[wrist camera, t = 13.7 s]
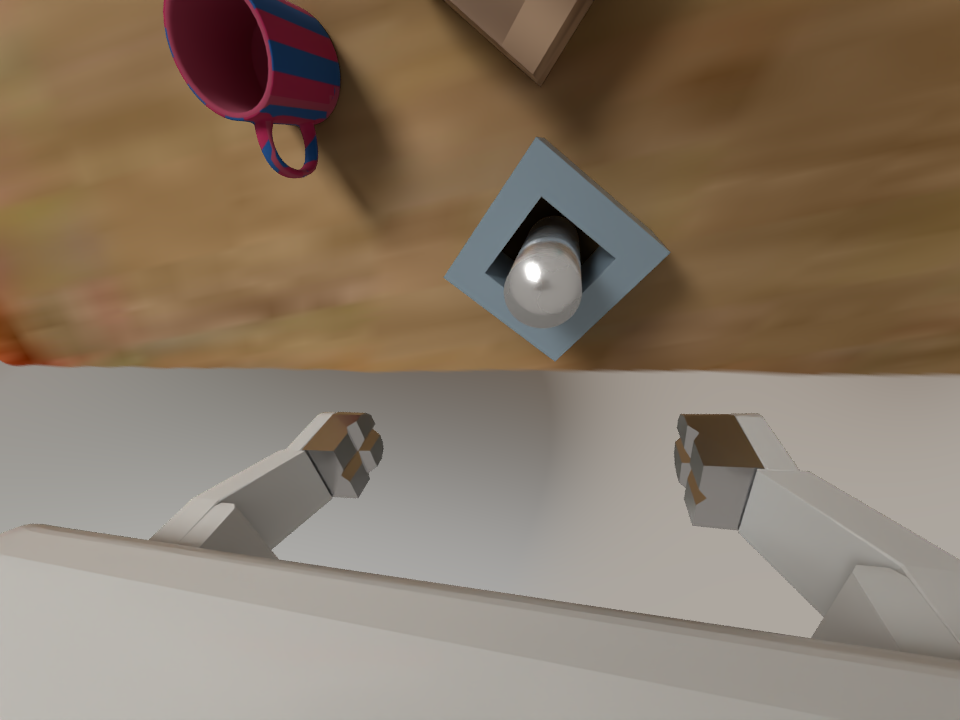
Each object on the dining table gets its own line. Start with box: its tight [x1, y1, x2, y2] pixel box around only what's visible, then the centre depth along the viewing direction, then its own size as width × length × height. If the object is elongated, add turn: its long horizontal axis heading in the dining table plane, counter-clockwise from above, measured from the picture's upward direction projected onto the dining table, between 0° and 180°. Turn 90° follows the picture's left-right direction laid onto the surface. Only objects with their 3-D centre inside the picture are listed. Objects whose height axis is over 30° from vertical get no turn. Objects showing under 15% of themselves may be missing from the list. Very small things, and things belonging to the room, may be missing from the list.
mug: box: [163, 0, 340, 178], centre depth 23 cm, size 7×10×7 cm
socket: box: [444, 137, 670, 361], centre depth 25 cm, size 10×10×6 cm
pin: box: [504, 216, 582, 328], centre depth 23 cm, size 4×4×11 cm
